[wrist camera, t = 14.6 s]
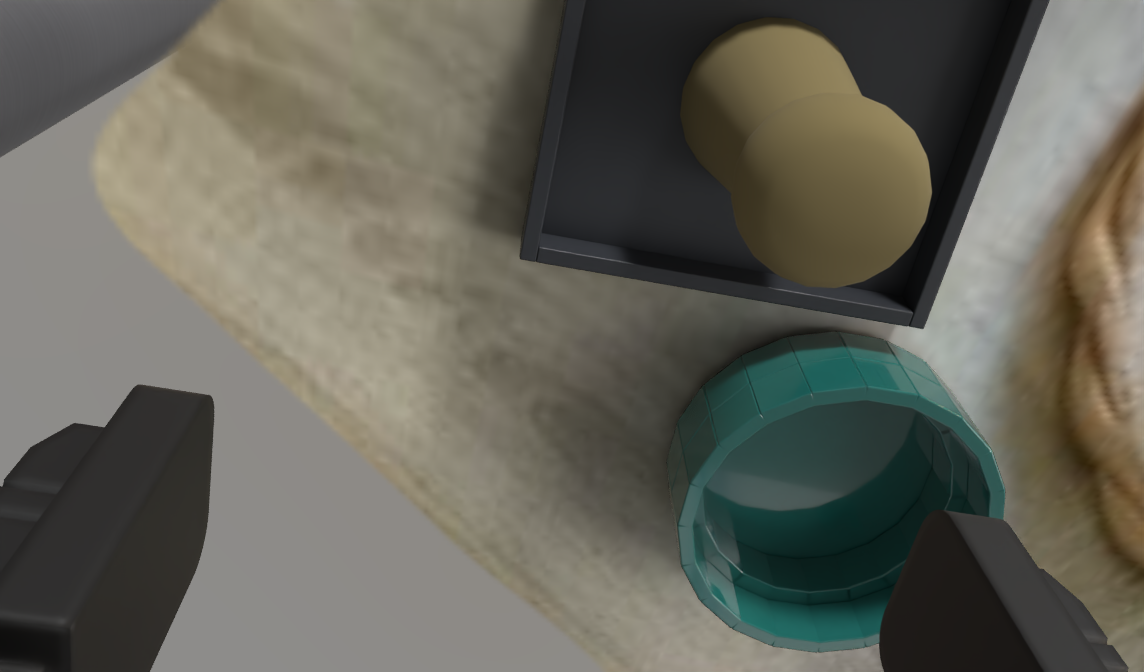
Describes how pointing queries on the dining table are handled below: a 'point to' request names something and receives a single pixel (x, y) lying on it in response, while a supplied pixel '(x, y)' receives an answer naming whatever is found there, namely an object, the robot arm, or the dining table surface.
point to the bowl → (818, 485)
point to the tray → (698, 200)
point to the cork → (805, 154)
